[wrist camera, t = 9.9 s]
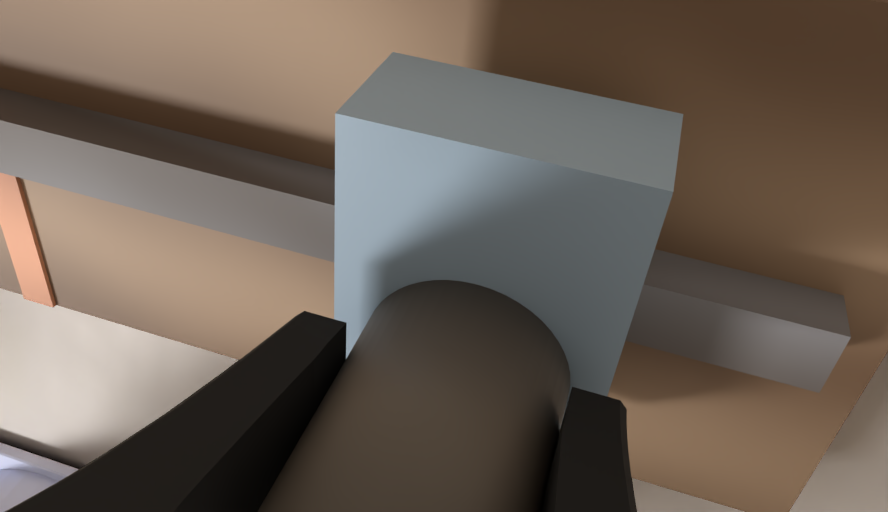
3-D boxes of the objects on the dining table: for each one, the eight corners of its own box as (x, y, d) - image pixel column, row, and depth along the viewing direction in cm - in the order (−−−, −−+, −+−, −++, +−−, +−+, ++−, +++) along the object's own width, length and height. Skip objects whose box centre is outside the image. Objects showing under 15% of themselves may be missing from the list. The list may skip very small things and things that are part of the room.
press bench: (778, 463, 17) (794, 746, 12) (-264, 164, 22) (-521, 287, 17) (1043, -3, 10) (1266, 227, 6) (-499, -270, 15) (-994, -251, 11)
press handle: (577, 454, 14) (500, 820, 10) (374, 393, 15) (213, 708, 10) (682, 113, 10) (636, 478, 5) (392, 51, 11) (133, 327, 6)
